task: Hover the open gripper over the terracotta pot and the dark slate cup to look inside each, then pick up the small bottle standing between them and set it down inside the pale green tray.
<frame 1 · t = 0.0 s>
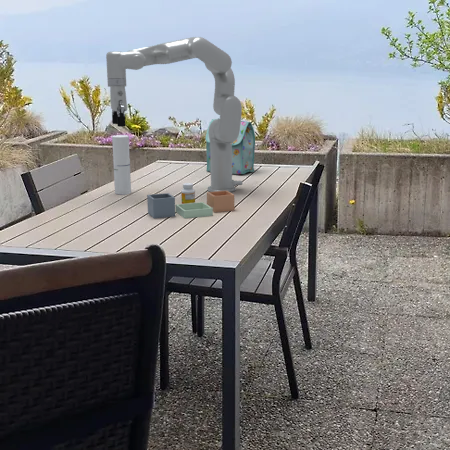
hand: (118, 125, 279), 31 cm above the table, tool pointing down, fingers open, 9 cm apart
lunch bag: (230, 172, 346), on the table
green tray: (194, 215, 259), on the table
cylindrical container: (123, 193, 299), on the table
terracotta pot: (220, 210, 265), on the table
slate cup: (161, 216, 257), on the table
supplement bottle: (188, 208, 271), on the table
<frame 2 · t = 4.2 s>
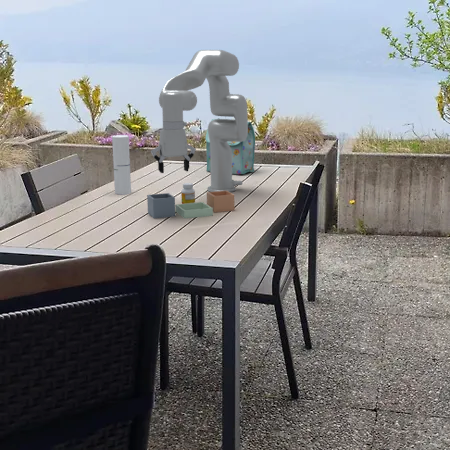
hand: (174, 171, 254), 17 cm above the table, tool pointing down, fingers open, 9 cm apart
nothing on the table moved.
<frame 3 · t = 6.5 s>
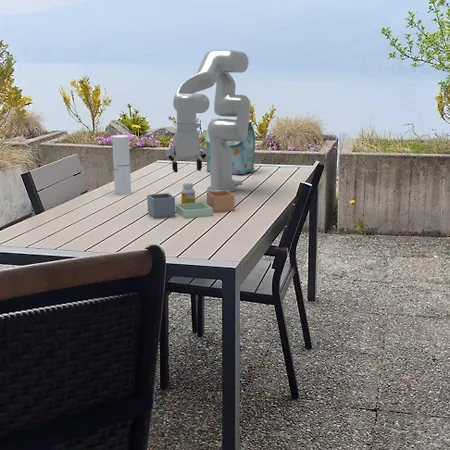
hand: (187, 171, 267), 15 cm above the table, tool pointing down, fingers open, 9 cm apart
nothing on the table moved.
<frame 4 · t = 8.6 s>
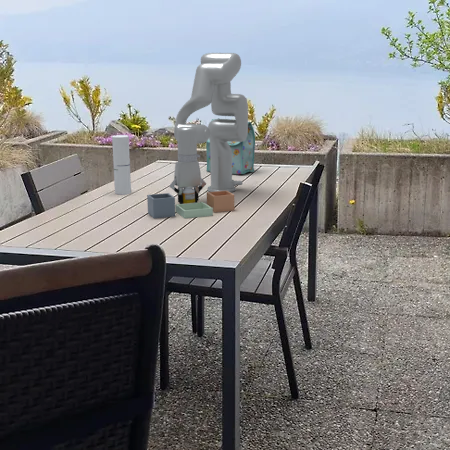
hand: (188, 202, 270), 2 cm above the table, tool pointing down, fingers closed on supplement bottle, 5 cm apart
supplement bottle: (188, 208, 271), on the table, touching gripper
everything else where it was.
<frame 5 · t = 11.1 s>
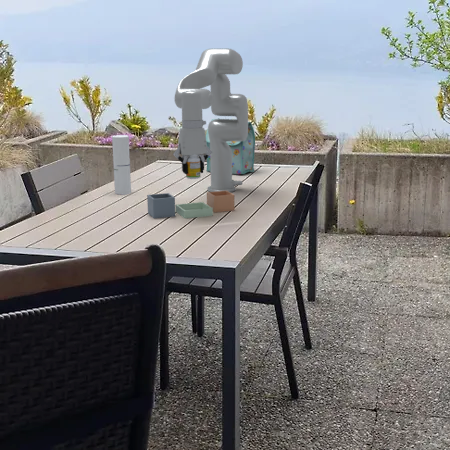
hand: (193, 172, 254), 17 cm above the table, tool pointing down, fingers closed on supplement bottle, 5 cm apart
supplement bottle: (193, 178, 255), point 14 cm above the table, touching gripper
everything else where it was.
when the fingers open (5 cm above the table, at t = 14.0 s): supplement bottle drops 2 cm, resting on green tray.
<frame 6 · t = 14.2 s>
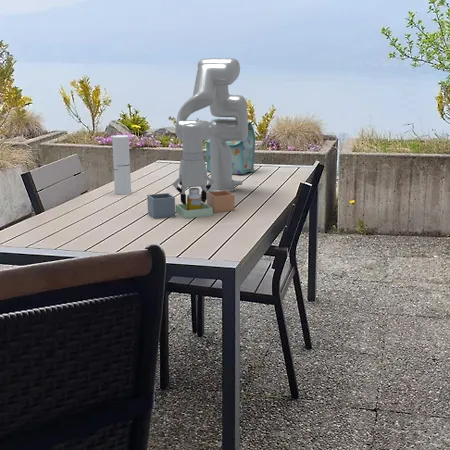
hand: (193, 202, 257), 5 cm above the table, tool pointing down, fingers open, 7 cm apart
supplement bottle: (194, 214, 259), resting on green tray
everything else where it was.
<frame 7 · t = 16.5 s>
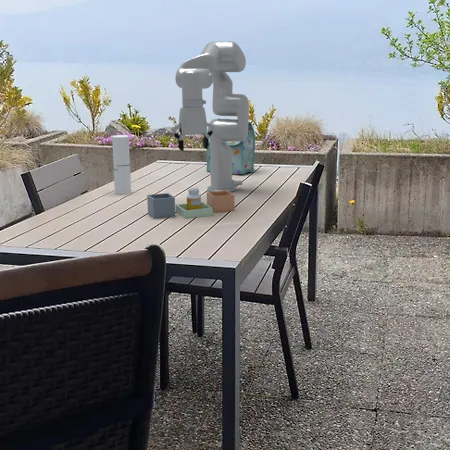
hand: (193, 149, 258), 25 cm above the table, tool pointing down, fingers open, 9 cm apart
nothing on the table moved.
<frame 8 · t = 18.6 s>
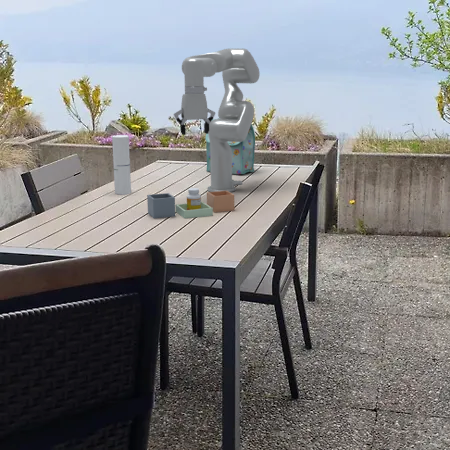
hand: (195, 133, 273), 28 cm above the table, tool pointing down, fingers open, 9 cm apart
nothing on the table moved.
at the end: supplement bottle inside the target area on the green tray (0.1 cm from its centre), point 0.4 cm above the green tray's base; supplement bottle tilted 0°; the gripper is holding nothing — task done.
